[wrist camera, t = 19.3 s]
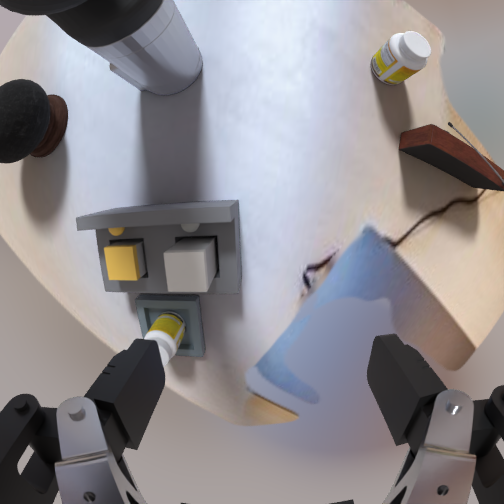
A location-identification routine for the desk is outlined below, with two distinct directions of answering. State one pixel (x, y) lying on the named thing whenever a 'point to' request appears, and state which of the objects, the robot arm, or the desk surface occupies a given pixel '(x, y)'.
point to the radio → (452, 156)
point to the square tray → (182, 305)
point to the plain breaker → (191, 264)
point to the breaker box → (170, 240)
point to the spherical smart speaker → (29, 121)
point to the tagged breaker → (126, 259)
